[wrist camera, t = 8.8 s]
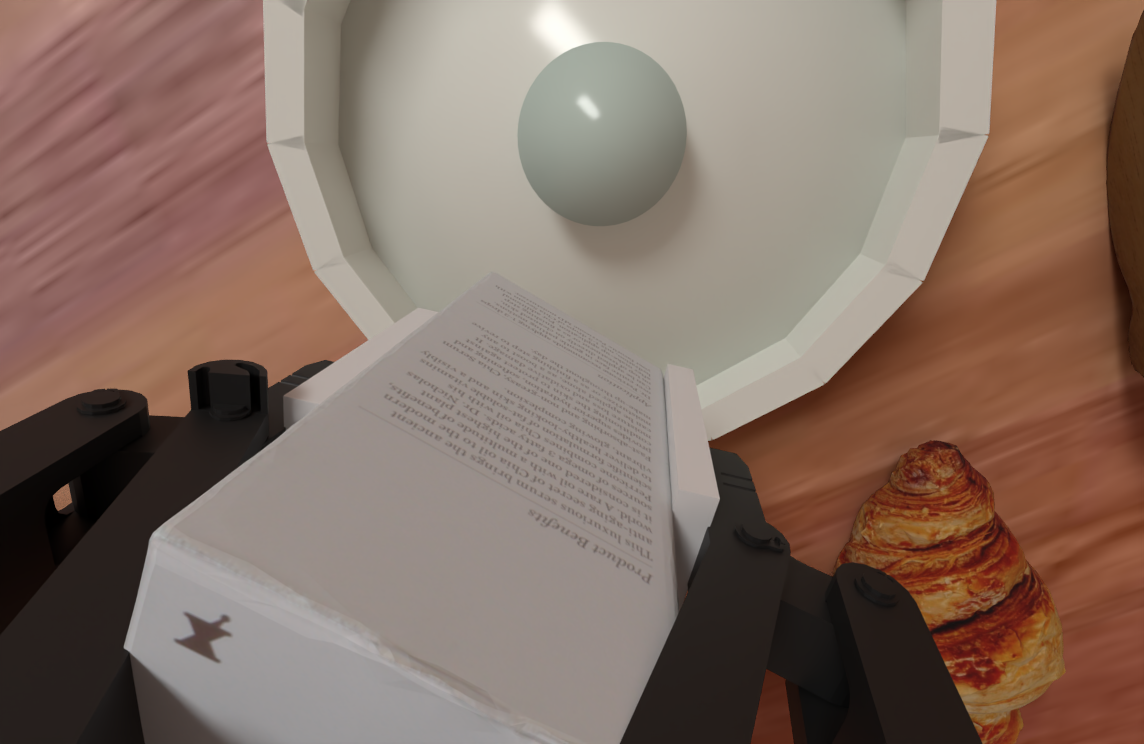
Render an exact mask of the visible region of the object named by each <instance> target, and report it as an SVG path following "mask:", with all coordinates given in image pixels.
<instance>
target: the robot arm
mask: <svg viewBox="0 0 1144 744" xmlns="http://www.w3.org/2000/svg"><path fill="white" fill-rule="evenodd" d="M437 313H438V312H436V311H431V310H427V309H422V308H417V309H416V310H414V311H412V312H411V313H409V314H408V315H406V316H405V317H403V318H402V319H400V320H399V321H397V322H396V323H394V324H393V325H391V326H389V327H388V328H386V329H385V330H383V331H382V332H380V333H379V334H377V335H376V336H374V337H373V338H371V339H370V340H368V341H366V342H365V343H363V344H362V345H360V346H359V347H357V348H356V349H354V350H353V351H351V352H350V353H348V354H347V355H345V356H343V357H342V358H340V359H339V360H337V361H336V362H332V361H328V360H324V361H320V362H316V363H313V364H309V365H306V366H304V367H302V368H301V369H299V370H297V371H296V372H294V373H293V374H292V376H291V375H289V376H288V377H286V378H284V379H283V380H281V382H278V383H276V384H274V385H273V386H271V387H269V388H268V379H267V370H266V369H265V368H264V367H263V366H261V365H259V364H256V363H254V362H249V361H243V360H219V361H211V362H206V363H203V364H200V365H196V366H195V367H193V368H192V369H190V370H188V379H189V389H190V400H191V411H190V412H189V413H188V414H187V415H186V417H170V416H151V415H149V411H148V403H147V399H146V398H145V397H144V396H143V395H142V394H140V393H136V392H133V391H129V390H118V389H107V390H105V389H98V390H94V391H92V392H87V393H82V394H78V395H76V396H73V397H70V398H67V399H65V400H63V401H61V402H59V403H57V404H55V405H53V406H51V407H49V408H47V409H45V410H43V411H40V412H38V413H36V414H34V415H32V416H30V417H28V418H26V419H24V420H22V421H20V422H18V423H16V424H14V425H12V426H10V427H8V428H6V429H4V430H2V431H0V744H145V741H144V736H143V730H142V725H141V719H140V713H139V707H138V702H137V696H136V690H135V684H134V678H133V672H132V666H131V660H130V652H129V651H128V650H126V649H124V644H125V640H126V636H127V633H128V629H129V625H130V622H131V618H132V614H133V610H134V606H135V603H136V599H137V594H138V590H139V586H140V581H141V577H142V573H143V568H144V564H145V560H146V555H147V551H148V545H149V540H150V538H151V536H152V534H153V532H154V531H156V530H157V529H158V528H159V527H160V526H161V525H163V524H164V523H165V522H166V521H168V520H169V519H170V518H172V517H173V516H174V515H176V514H177V513H179V512H180V511H181V510H183V509H184V508H185V507H187V506H188V505H189V504H191V503H192V502H193V501H195V500H196V499H197V498H199V497H200V496H201V495H203V494H204V493H205V492H207V491H208V490H209V489H211V488H212V487H213V486H214V485H216V484H217V483H218V482H220V481H221V480H222V479H224V478H225V477H226V476H228V475H229V474H230V473H231V472H233V471H234V470H235V469H237V468H238V467H239V466H241V465H242V464H243V463H245V462H246V461H247V460H249V459H250V458H252V457H253V456H255V455H256V454H257V453H259V452H260V451H261V450H263V449H264V448H265V447H266V446H268V445H269V444H270V443H272V442H273V441H274V440H276V439H277V438H278V437H279V436H280V435H282V434H283V433H284V432H285V431H286V430H287V429H289V428H290V427H291V426H292V425H294V424H295V423H296V422H298V421H299V420H301V419H302V418H303V417H304V416H306V415H307V414H308V413H309V412H311V411H312V410H313V409H314V408H316V407H317V406H318V405H319V404H321V403H322V402H323V401H324V400H326V399H327V398H328V397H329V396H331V395H332V394H333V393H335V392H336V391H337V390H338V389H340V388H341V387H342V386H344V385H345V384H346V383H348V382H349V381H350V380H352V379H353V378H354V377H355V376H357V375H358V374H359V373H360V372H362V371H363V370H364V369H366V368H367V367H369V366H370V365H371V364H372V363H374V362H375V361H376V360H377V359H379V358H380V357H381V356H382V355H384V354H385V353H386V352H388V351H389V350H390V349H391V348H393V347H394V346H395V345H396V344H398V343H399V342H401V341H402V340H403V339H404V338H406V337H407V336H408V335H409V334H410V333H412V332H413V331H414V330H416V329H417V328H418V327H420V326H421V325H422V324H424V323H425V322H426V321H427V320H429V319H430V318H431V317H433V316H434V315H435V314H437ZM663 380H664V393H665V408H666V422H667V439H668V452H669V469H670V484H671V497H672V511H673V527H674V541H675V559H676V573H677V585H678V597H679V610H680V611H679V613H678V616H677V618H676V620H675V622H674V624H673V627H672V629H671V631H670V633H669V635H668V638H667V640H666V642H665V644H664V647H663V649H662V651H661V653H660V655H659V658H658V660H657V662H656V664H655V666H654V669H653V671H652V673H651V675H650V677H649V680H648V682H647V684H646V686H645V689H644V691H643V693H642V695H641V697H640V700H639V702H638V704H637V706H636V708H635V711H634V713H633V715H632V717H631V720H630V722H629V724H628V726H627V728H626V731H625V733H624V735H623V737H622V739H621V742H620V744H750V743H751V738H752V733H753V729H754V724H755V719H756V714H757V710H758V705H759V700H760V695H761V691H762V686H763V681H764V676H765V672H766V669H768V670H770V671H772V672H774V673H776V674H777V675H779V676H781V677H783V678H785V679H786V682H785V683H786V690H787V697H788V704H789V711H790V718H791V725H792V732H793V739H794V744H983V743H982V741H981V739H980V737H979V735H978V733H977V730H976V728H975V726H974V724H973V722H972V720H971V718H970V716H969V713H968V711H967V709H966V707H965V705H964V703H963V701H962V698H961V696H960V694H959V692H958V690H957V688H956V686H955V684H954V681H953V679H952V677H951V675H950V673H949V671H948V669H947V667H946V664H945V662H944V660H943V658H942V656H941V654H940V652H939V650H938V647H937V645H936V643H935V641H934V639H933V637H932V635H931V633H930V630H929V628H928V626H927V624H926V622H925V620H924V618H923V616H922V613H921V611H920V609H919V607H918V605H917V603H916V601H915V600H914V598H913V597H912V596H911V594H910V593H909V591H908V590H907V589H905V588H904V587H903V586H902V585H901V584H900V583H899V582H898V581H897V580H895V579H894V578H893V577H891V576H890V575H887V574H886V573H885V572H883V571H881V570H879V569H875V568H873V567H870V566H868V565H865V564H859V563H854V562H851V563H844V564H841V565H840V566H839V567H838V568H837V569H836V571H835V573H834V576H833V577H832V576H829V575H827V574H825V573H823V572H821V571H818V570H816V569H814V568H812V567H809V566H807V565H805V564H803V563H801V562H800V561H798V560H796V559H794V558H793V557H791V556H790V546H789V543H788V542H787V540H786V539H785V537H784V536H783V534H781V533H780V532H779V531H778V530H777V529H776V528H774V527H773V526H772V525H770V524H768V523H766V521H765V518H764V515H763V511H762V508H761V505H760V502H759V499H758V496H757V493H756V492H755V491H756V490H755V486H754V483H753V482H752V477H751V474H750V471H749V468H748V466H747V465H746V464H745V463H744V462H743V461H742V460H741V458H740V457H739V456H738V455H737V454H735V453H731V452H726V451H722V450H718V449H714V448H709V444H708V439H707V435H706V430H705V425H704V420H703V415H702V410H701V406H700V401H699V396H698V391H697V386H696V381H695V377H694V372H693V369H689V368H684V367H680V366H676V365H671V364H667V368H666V371H665V375H664V378H663ZM68 483H69V488H70V493H71V498H72V503H71V504H69V505H68V506H66V507H65V508H64V509H62V510H59V511H57V509H56V508H55V504H54V500H53V495H54V494H55V493H56V492H57V491H58V490H59V489H60V488H61V487H63V486H64V485H66V484H68ZM687 590H688V593H687ZM686 593H687V596H686ZM685 596H686V598H685ZM684 599H685V600H684ZM683 601H684V602H683Z"/></svg>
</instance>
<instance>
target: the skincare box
mask: <svg viewBox="0 0 1144 744" xmlns="http://www.w3.org/2000/svg"><path fill="white" fill-rule="evenodd" d="M678 613H679V597H678V585H677V573H676V559H675V541H674V527H673V511H672V497H671V484H670V469H669V452H668V439H667V422H666V408H665V393H664V380H663V373H662V370H661V369H660V368H658V367H656V366H655V365H653V364H651V363H649V362H647V361H646V360H644V359H642V358H641V357H639V356H637V355H636V354H634V353H632V352H631V351H629V350H627V349H625V348H624V347H622V346H620V345H619V344H617V343H615V342H614V341H612V340H610V339H608V338H607V337H605V336H603V335H602V334H600V333H598V332H596V331H595V330H593V329H591V328H590V327H588V326H586V325H585V324H583V323H581V322H579V321H578V320H576V319H574V318H572V317H571V316H569V315H567V314H565V313H564V312H562V311H560V310H559V309H557V308H555V307H554V306H552V305H550V304H548V303H547V302H545V301H543V300H541V299H539V298H538V297H536V296H534V295H533V294H531V293H529V292H528V291H526V290H524V289H522V288H521V287H519V286H517V285H516V284H514V283H512V282H511V281H509V280H507V279H506V278H504V277H502V276H501V275H499V274H497V273H495V272H490V273H489V274H487V275H486V276H485V277H483V278H482V279H481V280H479V281H478V282H477V283H475V284H474V285H473V286H471V287H470V288H469V289H468V290H466V291H465V292H464V293H463V294H461V295H460V296H459V297H457V298H456V299H455V300H454V301H452V302H451V303H450V304H448V305H447V306H446V307H445V308H444V309H442V310H441V311H440V312H438V313H437V314H435V315H434V316H433V317H431V318H430V319H429V320H427V321H426V322H425V323H424V324H422V325H421V326H420V327H418V328H417V329H416V330H414V331H413V332H412V333H410V334H409V335H408V336H407V337H406V338H404V339H403V340H402V341H401V342H399V343H398V344H396V345H395V346H394V347H393V348H391V349H390V350H389V351H388V352H386V353H385V354H384V355H382V356H381V357H380V358H379V359H377V360H376V361H375V362H374V363H372V364H371V365H370V366H369V367H367V368H366V369H364V370H363V371H362V372H360V373H359V374H358V375H357V376H355V377H354V378H353V379H352V380H350V381H349V382H348V383H346V384H345V385H344V386H342V387H341V388H340V389H338V390H337V391H336V392H335V393H333V394H332V395H331V396H329V397H328V398H327V399H326V400H324V401H323V402H322V403H321V404H319V405H318V406H317V407H316V408H314V409H313V410H312V411H311V412H309V413H308V414H307V415H306V416H304V417H303V418H302V419H301V420H299V421H298V422H296V423H295V424H294V425H292V426H291V427H290V428H289V429H287V430H286V431H285V432H284V433H283V434H282V435H280V436H279V437H278V438H277V439H276V440H274V441H273V442H272V443H270V444H269V445H268V446H266V447H265V448H264V449H263V450H261V451H260V452H259V453H257V454H256V455H255V456H253V457H252V458H250V459H249V460H247V461H246V462H245V463H243V464H242V465H241V466H239V467H238V468H237V469H235V470H234V471H233V472H231V473H230V474H229V475H228V476H226V477H225V478H224V479H222V480H221V481H220V482H218V483H217V484H216V485H214V486H213V487H212V488H211V489H209V490H208V491H207V492H205V493H204V494H203V495H201V496H200V497H199V498H197V499H196V500H195V501H193V502H192V503H191V504H189V505H188V506H187V507H185V508H184V509H183V510H181V511H180V512H179V513H177V514H176V515H174V516H173V517H172V518H170V519H169V520H168V521H166V522H165V523H164V524H163V525H161V526H160V527H159V528H158V529H157V530H156V531H154V532H153V534H152V536H151V538H150V540H149V545H148V551H147V555H146V560H145V564H144V568H143V573H142V577H141V581H140V586H139V590H138V594H137V599H136V603H135V606H134V610H133V614H132V618H131V622H130V625H129V629H128V633H127V636H126V640H125V644H124V649H126V650H128V651H129V652H130V660H131V666H132V672H133V678H134V684H135V690H136V696H137V702H138V707H139V713H140V719H141V725H142V730H143V736H144V741H145V744H620V742H621V739H622V737H623V735H624V733H625V731H626V728H627V726H628V724H629V722H630V720H631V717H632V715H633V713H634V711H635V708H636V706H637V704H638V702H639V700H640V697H641V695H642V693H643V691H644V689H645V686H646V684H647V682H648V680H649V677H650V675H651V673H652V671H653V669H654V666H655V664H656V662H657V660H658V658H659V655H660V653H661V651H662V649H663V647H664V644H665V642H666V640H667V638H668V635H669V633H670V631H671V629H672V627H673V624H674V622H675V620H676V618H677V616H678Z"/></svg>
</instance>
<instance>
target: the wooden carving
mask: <svg viewBox="0 0 1144 744" xmlns="http://www.w3.org/2000/svg"><path fill="white" fill-rule="evenodd" d="M1106 184H1107V192H1108V212H1109V219H1110V226H1111V232H1112V238H1113V243H1114V248H1115V252H1116V256H1117V260H1118V263H1119V266H1120V269H1121V272H1122V274H1123V277H1124V279H1125V282H1126V284H1127V286H1128V289H1129V293H1130V297H1131V300H1132V304H1133V313H1132V316H1131V319H1130V326H1129V331H1128V342H1129V353H1130V358H1131V363H1132V365H1133V367H1134V369H1135V370H1136V371H1137V372H1138V373H1140V374H1141V375H1142V376H1143V377H1144V11H1143V13H1142V15H1141V18H1140V20H1139V23H1138V26H1137V28H1136V30H1135V32H1134V34H1133V37H1132V40H1131V44H1130V47H1129V51H1128V55H1127V59H1126V63H1125V67H1124V71H1123V74H1122V78H1121V82H1120V85H1119V89H1118V92H1117V97H1116V102H1115V107H1114V112H1113V117H1112V122H1111V127H1110V134H1109V144H1108V157H1107V182H1106Z"/></svg>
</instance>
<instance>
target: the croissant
mask: <svg viewBox="0 0 1144 744" xmlns="http://www.w3.org/2000/svg"><path fill="white" fill-rule="evenodd" d="M994 506H995V504H994V493H993V491H992V488H991V486H990V484H989V482H988V481H987V480H986V478H985V477H984V476H982V475H981V474H980V473H979V472H978V471H977V470H975V469H974V468H973V467H972V466H971V465H970V463H969V462H968V461H967V460H966V459H965V458H964V457H963V455H962V454H961V453H960V451H959V449H958V447H957V446H956V445H953V444H950V443H946V442H941V441H929V442H927V443H924V444H921V445H919V446H918V448H911V449H909V451H908V453H906V454H904V455H902V456H901V457H900V459H899V461H898V464H897V468H896V470H895V471H894V472H892V474H891V478H890V480H889V483H888V484H886V485H885V486H884V487H882V488H881V489H879V490H878V491H876V492H875V494H873V495H871V497H870V498H869V499H868V500H867V501H866V502H865V503H864V504H863V505H862V507H861V509H860V511H859V513H858V515H857V517H856V520H855V522H854V526H853V531H852V533H851V537H850V541H849V543H847V544H846V545H845V547H844V548H843V550H842V551H841V553H840V555H839V557H838V558H837V562H836V565H835V568H834V573H835V571H836V569H837V568H838V567H839V566H840V565H841V564H844V563H851V562H854V563H859V564H865V565H868V566H870V567H873V568H875V569H879V570H881V571H883V572H885V573H886V574H887V575H890V576H891V577H893V578H894V579H895V580H897V581H898V582H899V583H900V584H901V585H902V586H903V587H904V588H905V589H907V590H908V591H909V593H910V594H911V596H912V597H913V598H914V600H915V601H916V603H917V605H918V607H919V609H920V611H921V613H922V616H923V618H924V620H925V622H926V624H927V626H928V628H929V630H930V633H931V635H932V637H933V639H934V641H935V643H936V645H937V647H938V650H939V652H940V654H941V656H942V658H943V660H944V662H945V664H946V667H947V669H948V671H949V673H950V675H951V677H952V679H953V681H954V684H955V686H956V688H957V690H958V692H959V694H960V696H961V698H962V701H963V703H964V705H965V707H966V709H967V711H968V713H969V716H970V718H971V720H972V722H973V724H974V726H975V728H976V730H977V733H978V735H979V737H980V739H981V741H982V743H983V744H1014V743H1015V742H1016V740H1017V737H1018V734H1019V731H1020V730H1022V728H1023V720H1022V718H1021V716H1020V715H1021V713H1020V711H1019V708H1020V707H1022V706H1024V705H1026V704H1028V703H1030V702H1032V701H1034V700H1036V699H1037V698H1038V697H1039V696H1041V695H1042V694H1043V693H1044V692H1045V691H1046V690H1047V689H1048V687H1049V686H1050V684H1051V683H1052V682H1053V681H1054V680H1057V679H1059V678H1060V677H1061V676H1062V675H1063V674H1064V673H1065V672H1066V670H1065V668H1064V660H1063V658H1062V657H1063V633H1062V624H1061V622H1060V619H1059V617H1058V613H1057V610H1056V607H1055V604H1054V601H1053V599H1052V596H1051V593H1050V591H1049V589H1048V588H1047V586H1046V585H1045V584H1044V582H1043V580H1042V579H1041V577H1040V576H1039V574H1038V573H1037V572H1036V570H1035V569H1034V568H1033V567H1032V566H1031V565H1030V564H1029V563H1028V562H1027V560H1026V559H1025V556H1024V553H1023V551H1022V549H1021V547H1020V545H1019V544H1018V542H1017V540H1016V538H1015V537H1014V535H1013V534H1012V533H1011V531H1010V530H1009V528H1008V527H1007V525H1006V524H1005V523H1004V522H1003V520H1002V519H1001V518H1000V517H999V515H998V514H997V513H996V512H995V511H994ZM833 576H834V575H833Z"/></svg>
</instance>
